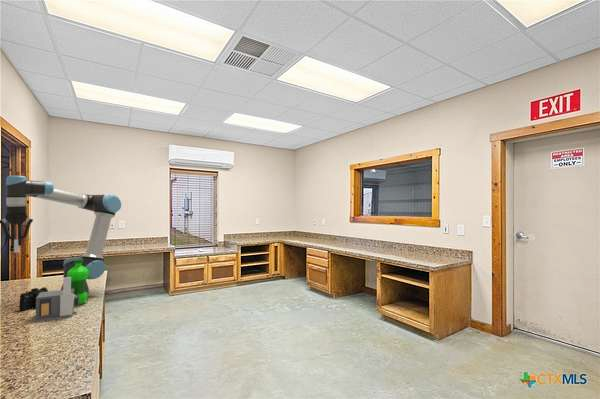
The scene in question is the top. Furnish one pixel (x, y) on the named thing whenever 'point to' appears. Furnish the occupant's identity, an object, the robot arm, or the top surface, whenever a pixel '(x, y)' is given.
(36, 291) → the camera
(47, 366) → the top surface
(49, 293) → the housing
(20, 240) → the robot arm
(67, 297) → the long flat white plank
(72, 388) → the top surface
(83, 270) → the plastic bottle
